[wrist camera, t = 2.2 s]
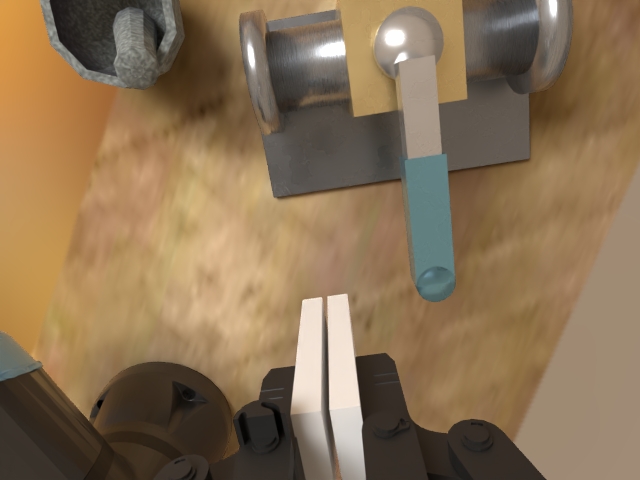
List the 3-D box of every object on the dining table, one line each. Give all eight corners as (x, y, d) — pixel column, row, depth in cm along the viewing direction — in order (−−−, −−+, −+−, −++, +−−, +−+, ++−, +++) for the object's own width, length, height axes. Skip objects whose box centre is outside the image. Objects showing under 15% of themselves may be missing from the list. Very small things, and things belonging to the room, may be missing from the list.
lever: (398, 285, 35) (406, 305, 32) (369, 17, 29) (374, 6, 26) (454, 278, 35) (468, 297, 31) (435, 5, 29) (450, -7, 26)
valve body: (274, 196, 43) (260, 222, 33) (242, 27, 38) (216, 3, 29) (526, 157, 41) (584, 173, 32) (524, -22, 37) (590, -63, 28)
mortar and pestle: (66, 22, 38) (-44, -11, 27) (138, -61, 36) (53, -135, 25) (162, 123, 41) (99, 132, 29) (235, 51, 39) (197, 30, 27)
